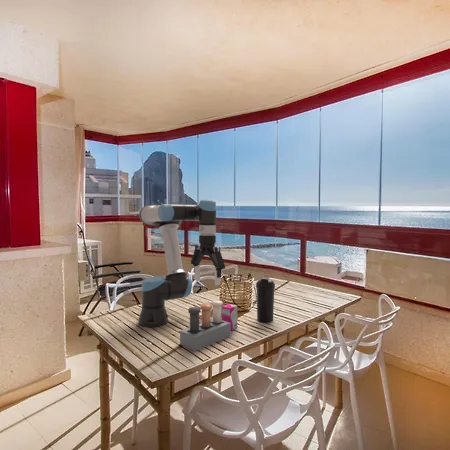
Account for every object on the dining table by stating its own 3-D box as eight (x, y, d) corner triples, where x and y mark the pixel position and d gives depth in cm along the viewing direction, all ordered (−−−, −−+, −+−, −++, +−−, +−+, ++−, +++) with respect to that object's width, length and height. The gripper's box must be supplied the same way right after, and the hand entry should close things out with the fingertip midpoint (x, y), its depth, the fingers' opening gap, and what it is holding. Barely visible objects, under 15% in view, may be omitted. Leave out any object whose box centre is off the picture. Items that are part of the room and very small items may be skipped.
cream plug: (209, 321, 137) (209, 302, 137) (216, 318, 141) (217, 299, 141) (217, 324, 134) (217, 304, 134) (224, 321, 138) (224, 301, 137)
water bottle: (275, 317, 161) (276, 276, 161) (273, 324, 152) (274, 280, 151) (257, 315, 164) (257, 275, 163) (254, 322, 154) (254, 279, 154)
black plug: (185, 330, 127) (185, 309, 127) (195, 326, 131) (195, 306, 131) (193, 333, 124) (193, 311, 123) (202, 329, 127) (203, 308, 127)
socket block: (179, 344, 128) (179, 330, 128) (215, 329, 144) (215, 317, 144) (195, 351, 121) (195, 337, 121) (230, 335, 137) (230, 322, 137)
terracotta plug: (198, 325, 132) (198, 305, 132) (206, 322, 136) (206, 302, 136) (205, 328, 129) (206, 307, 128) (214, 325, 133) (214, 305, 132)
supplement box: (228, 325, 150) (228, 303, 150) (237, 328, 146) (237, 305, 146) (221, 328, 146) (221, 306, 145) (230, 331, 142) (230, 308, 141)
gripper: (183, 233, 136) (183, 279, 137) (221, 236, 120) (221, 288, 121) (195, 232, 142) (195, 276, 143) (233, 235, 126) (233, 285, 127)
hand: (207, 282), depth 132 cm, fingers open, 12 cm apart
